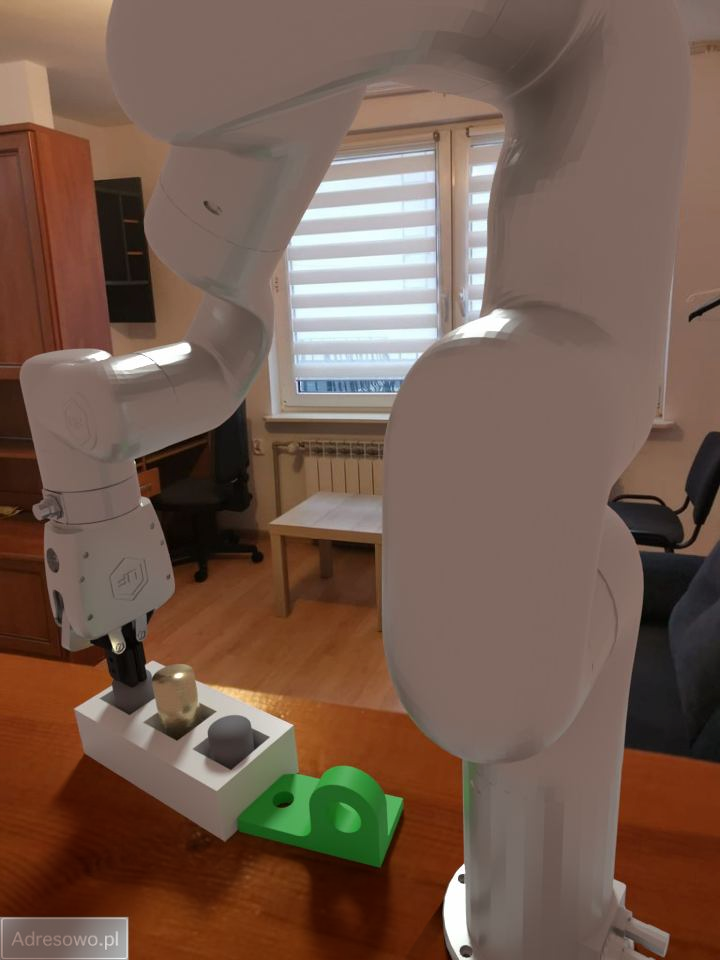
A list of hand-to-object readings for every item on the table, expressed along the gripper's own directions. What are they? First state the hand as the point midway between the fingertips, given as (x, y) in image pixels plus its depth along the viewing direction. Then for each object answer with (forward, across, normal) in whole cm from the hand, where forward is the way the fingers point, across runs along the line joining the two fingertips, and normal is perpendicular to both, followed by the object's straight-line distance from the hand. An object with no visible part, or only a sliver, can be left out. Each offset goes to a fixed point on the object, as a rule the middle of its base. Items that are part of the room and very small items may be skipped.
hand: (130, 678), depth 67 cm
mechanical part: (+8, +1, -21) cm, 23 cm away
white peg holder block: (+8, 0, -7) cm, 10 cm away
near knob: (+6, 0, -13) cm, 15 cm away
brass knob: (+3, 0, -7) cm, 7 cm away
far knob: (+6, 0, 0) cm, 6 cm away
